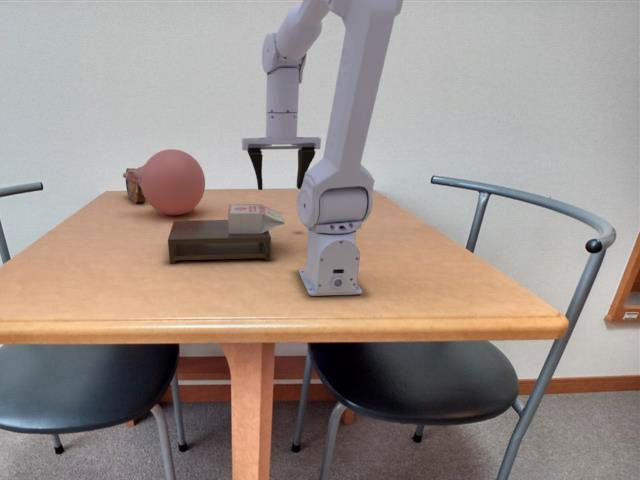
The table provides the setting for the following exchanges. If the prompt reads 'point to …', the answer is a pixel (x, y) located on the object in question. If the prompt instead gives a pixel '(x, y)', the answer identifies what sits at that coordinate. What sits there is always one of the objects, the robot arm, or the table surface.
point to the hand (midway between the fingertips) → (279, 188)
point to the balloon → (170, 181)
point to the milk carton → (252, 219)
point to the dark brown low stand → (214, 242)
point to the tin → (134, 191)
